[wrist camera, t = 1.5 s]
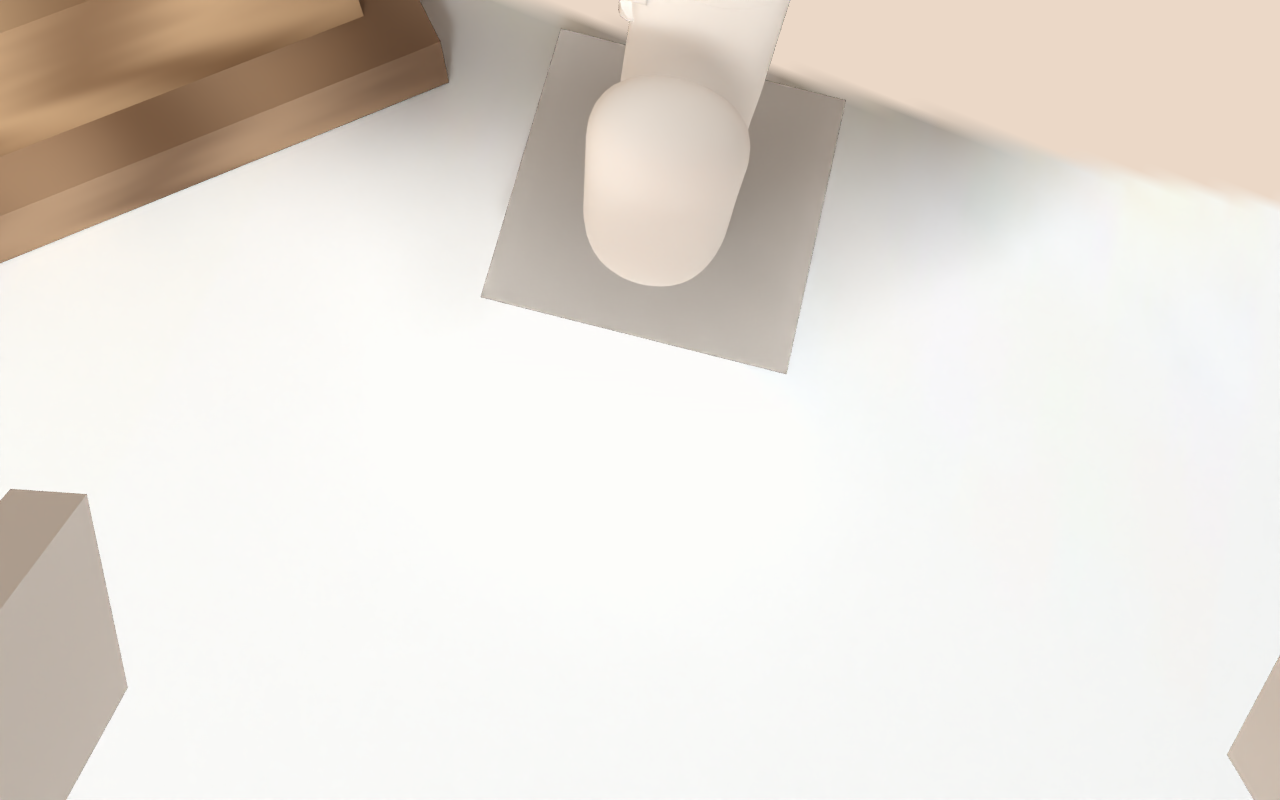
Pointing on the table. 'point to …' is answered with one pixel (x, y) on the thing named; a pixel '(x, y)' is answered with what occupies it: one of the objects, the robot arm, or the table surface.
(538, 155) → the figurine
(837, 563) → the table surface
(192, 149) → the walnut plinth
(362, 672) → the table surface
